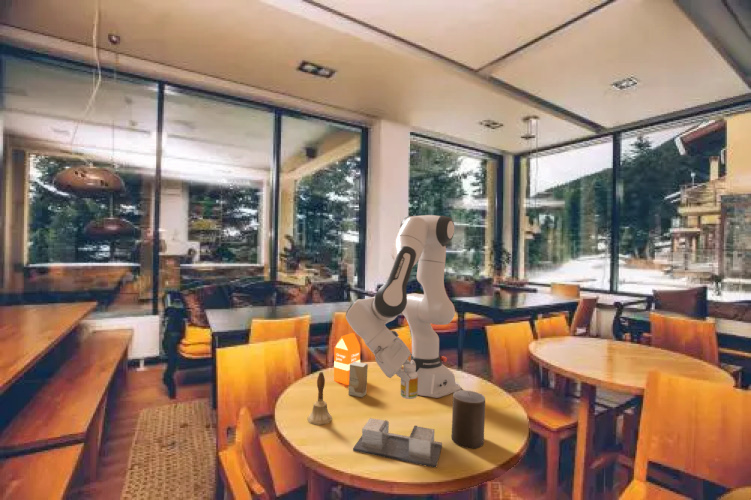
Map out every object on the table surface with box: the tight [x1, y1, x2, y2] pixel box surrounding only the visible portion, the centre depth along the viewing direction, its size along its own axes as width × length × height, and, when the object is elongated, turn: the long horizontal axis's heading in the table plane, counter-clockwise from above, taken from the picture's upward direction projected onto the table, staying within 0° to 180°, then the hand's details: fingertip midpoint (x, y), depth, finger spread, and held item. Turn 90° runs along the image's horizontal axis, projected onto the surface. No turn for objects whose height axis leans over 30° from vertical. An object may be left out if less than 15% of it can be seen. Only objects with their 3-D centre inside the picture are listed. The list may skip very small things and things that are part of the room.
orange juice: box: [333, 332, 361, 386], centre depth 161 cm, size 8×9×20 cm
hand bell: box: [307, 371, 333, 426], centre depth 125 cm, size 8×8×16 cm
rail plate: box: [352, 417, 443, 468], centre depth 108 cm, size 24×11×6 cm, turn 72°
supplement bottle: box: [400, 364, 418, 400], centre depth 117 cm, size 5×5×10 cm
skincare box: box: [348, 361, 369, 398], centre depth 146 cm, size 6×4×12 cm
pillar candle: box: [450, 389, 486, 450], centre depth 113 cm, size 10×10×15 cm
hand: (411, 376), depth 117 cm, fingers closed on supplement bottle, 5 cm apart
